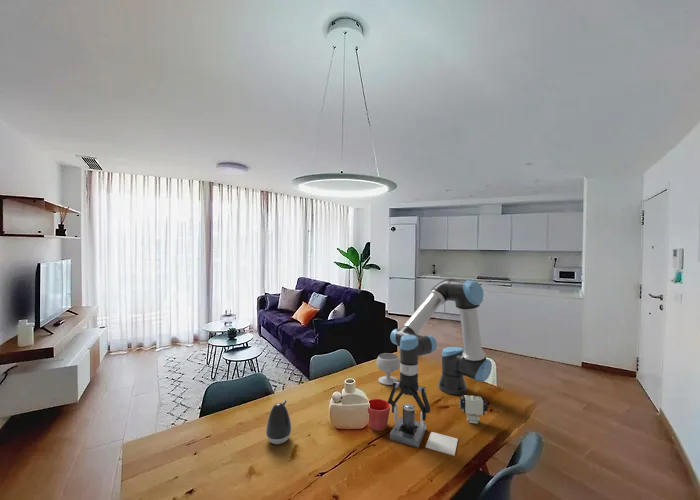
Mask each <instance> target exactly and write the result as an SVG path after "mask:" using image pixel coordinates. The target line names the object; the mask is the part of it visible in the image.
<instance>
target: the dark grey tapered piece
mask: <svg viewBox="0 0 700 500" xmlns="http://www.w3.org/2000/svg"><path fill="white" fill-rule="evenodd" d="M286 404H287V400H286V399H284V400H283V401H282V402H278V403H274V405H273V406H272V408H271V409H270V412H269V414H268V418H267V423H266V428H265V429H266V430H265V431H266V432H265V434H266V437H267V440H268V441H269V442H270V443H271V444H273V445H281V443H282V444H284V443H286V441H288V439H290V435H291V433H292V422H291V417H290V414H289V410H288V409H287V407H286Z"/></svg>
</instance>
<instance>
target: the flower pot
mask: <svg viewBox="0 0 700 500" xmlns="http://www.w3.org/2000/svg"><path fill="white" fill-rule="evenodd" d="M368 401H369V403H370V408H369V407H368V413H369V421H368V426H369V428H370V429H372V430H374V431H377V432H378V431H379V432H381V431H384V430H385V429H386V428H387V426H388V421H389V417H390V411H391V404H388V400H384V399H382V398H372V399H369V400H368Z"/></svg>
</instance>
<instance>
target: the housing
mask: <svg viewBox="0 0 700 500" xmlns="http://www.w3.org/2000/svg"><path fill="white" fill-rule="evenodd" d="M426 430H427V423H425V422H424V426H423V428H422V429H420V421H417V420H415V431H414V435H412V434H409V433H405V432H403V416H402V417H401V416H400V417H399V418H397V421H396V422H395V424H394V426H393V427H392V429H391V431H390V433H389V440H390V441H394V442H398V443H400V444H404V445H408V446H412V447H415V448H420V445H421V443H422V440H423V439H424V435H425V433H426Z"/></svg>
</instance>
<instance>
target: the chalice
mask: <svg viewBox="0 0 700 500" xmlns="http://www.w3.org/2000/svg"><path fill="white" fill-rule="evenodd" d="M376 366H377V368H378V369H379V370H380V371H382V372H384V373H385V374H386V375H384V376H380V377H379V378H377V381H378V383H380V384H382V385H386V386H393V382H394V381H397V382H399V379H398V378H397V377H394V376H392V375H391V373H393V372H395V371H398V370H399V369H400V358H399V356H398V355H397V354H394V353H391V352H384V353H383V352H382V353H380V354H378V356H377V358H376Z"/></svg>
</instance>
